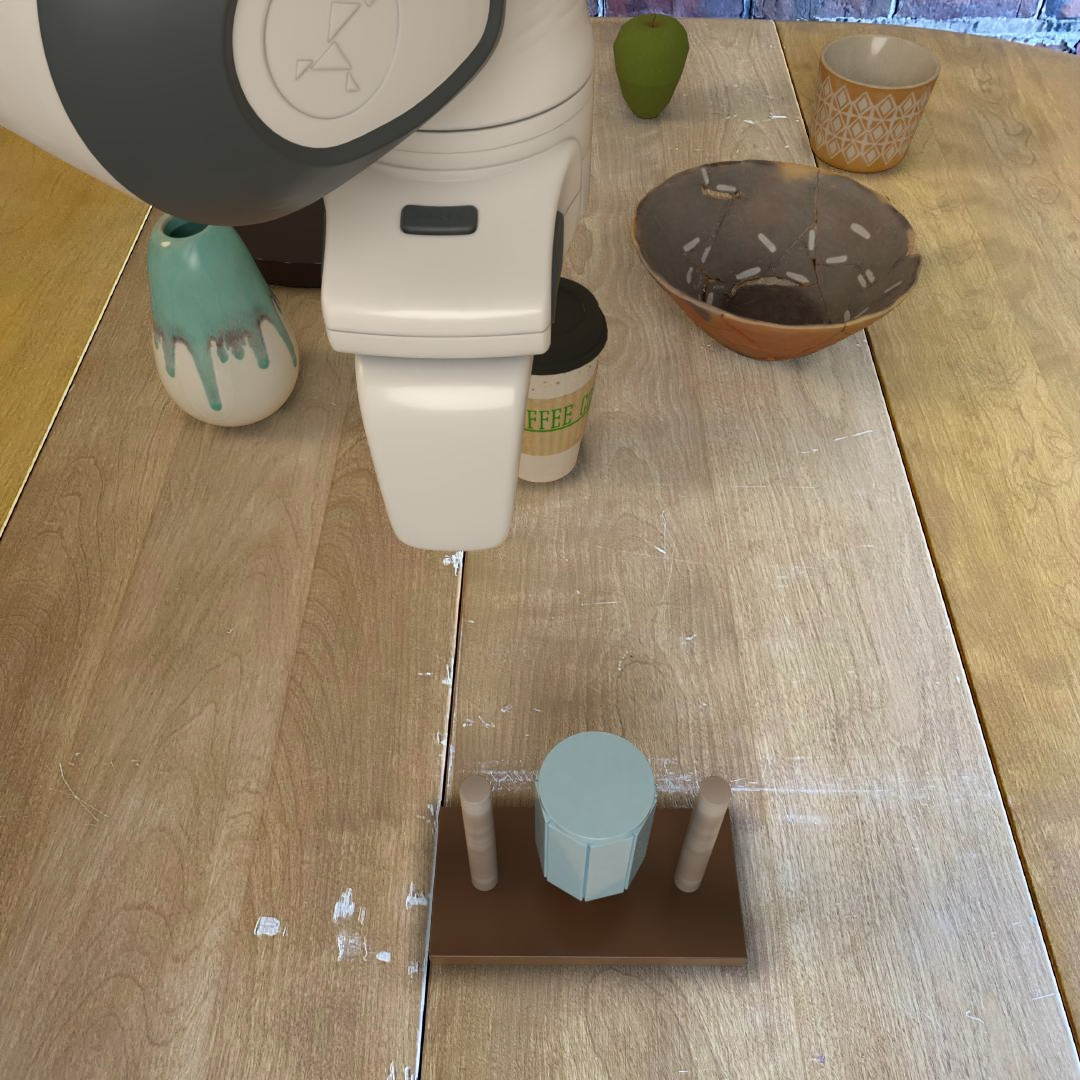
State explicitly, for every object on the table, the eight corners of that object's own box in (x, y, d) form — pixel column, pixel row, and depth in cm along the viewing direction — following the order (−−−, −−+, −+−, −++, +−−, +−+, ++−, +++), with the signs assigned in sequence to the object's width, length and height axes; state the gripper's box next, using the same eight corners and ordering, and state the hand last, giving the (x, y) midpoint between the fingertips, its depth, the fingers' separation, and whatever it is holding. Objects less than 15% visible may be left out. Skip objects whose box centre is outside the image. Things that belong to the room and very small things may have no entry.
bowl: (593, 267, 100) (598, 176, 92) (819, 232, 104) (842, 142, 96) (677, 438, 84) (691, 346, 77) (939, 389, 88) (977, 297, 80)
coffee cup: (558, 517, 79) (562, 372, 67) (458, 467, 82) (445, 322, 70) (620, 443, 84) (634, 297, 72) (524, 400, 87) (522, 254, 76)
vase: (176, 456, 83) (104, 276, 69) (171, 367, 90) (104, 188, 76) (315, 430, 85) (272, 250, 71) (299, 346, 92) (257, 167, 78)
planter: (816, 114, 119) (836, 24, 111) (922, 137, 116) (950, 46, 108) (787, 165, 112) (806, 72, 104) (899, 190, 109) (928, 97, 101)
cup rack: (743, 966, 57) (789, 880, 46) (430, 964, 57) (406, 877, 47) (725, 818, 63) (763, 711, 52) (441, 816, 63) (422, 709, 52)
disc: (293, 112, 119) (289, 87, 117) (517, 168, 111) (516, 143, 109) (129, 242, 102) (119, 217, 100) (379, 321, 94) (375, 294, 92)
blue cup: (552, 910, 53) (554, 851, 47) (527, 810, 56) (526, 744, 50) (655, 884, 54) (671, 824, 48) (624, 788, 57) (635, 720, 51)
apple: (673, 94, 123) (683, -5, 114) (688, 128, 117) (701, 27, 108) (604, 98, 122) (609, -1, 113) (616, 133, 116) (623, 32, 108)
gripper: (394, 9, 39) (426, 298, 50) (308, 348, 26) (376, 641, 37) (555, 10, 39) (552, 300, 49) (550, 351, 26) (547, 643, 37)
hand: (477, 448), depth 43 cm, fingers open, 8 cm apart
